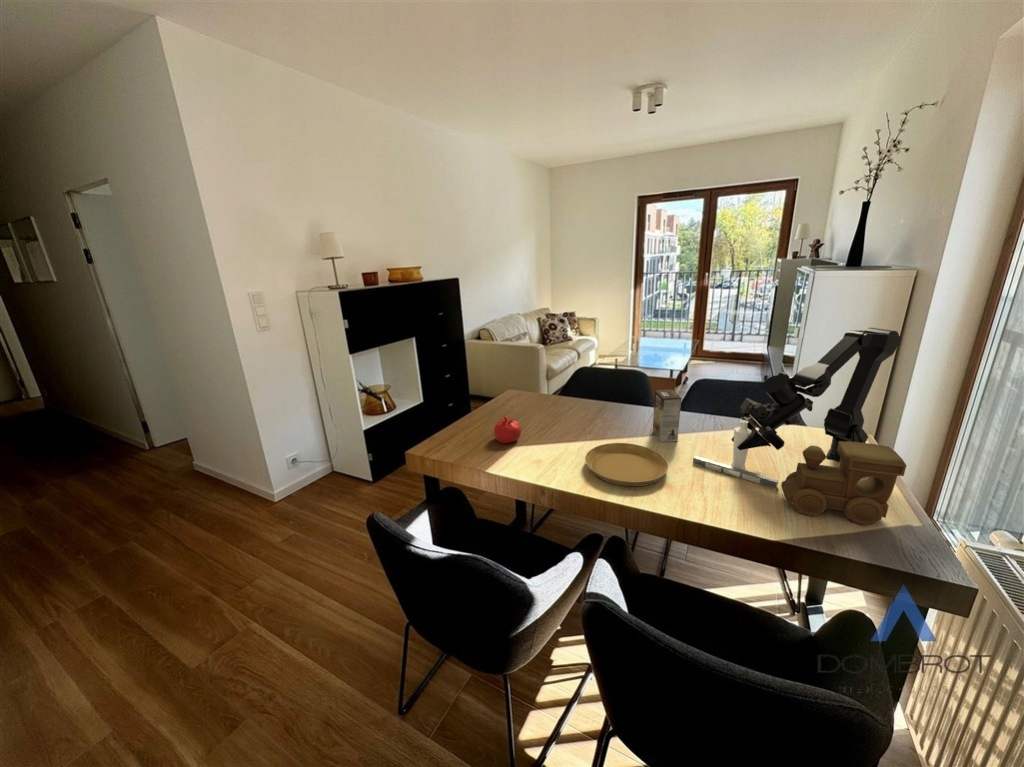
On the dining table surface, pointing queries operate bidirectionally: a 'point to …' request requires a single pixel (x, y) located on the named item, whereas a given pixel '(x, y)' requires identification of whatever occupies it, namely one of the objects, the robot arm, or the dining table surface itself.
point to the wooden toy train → (846, 481)
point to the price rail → (736, 472)
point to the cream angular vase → (739, 437)
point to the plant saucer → (626, 464)
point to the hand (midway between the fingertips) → (735, 444)
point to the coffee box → (666, 415)
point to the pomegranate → (507, 430)
